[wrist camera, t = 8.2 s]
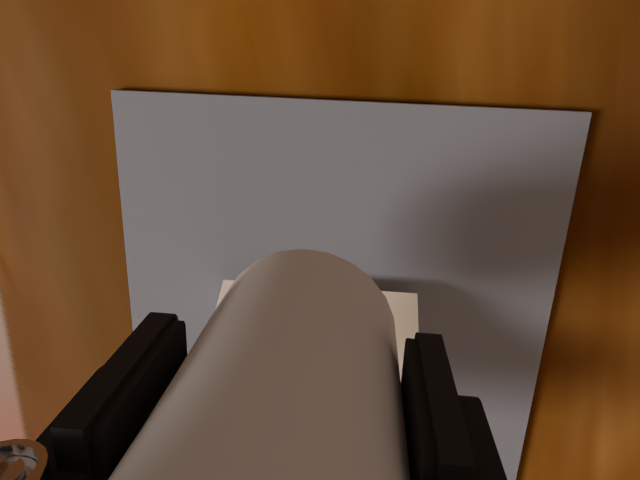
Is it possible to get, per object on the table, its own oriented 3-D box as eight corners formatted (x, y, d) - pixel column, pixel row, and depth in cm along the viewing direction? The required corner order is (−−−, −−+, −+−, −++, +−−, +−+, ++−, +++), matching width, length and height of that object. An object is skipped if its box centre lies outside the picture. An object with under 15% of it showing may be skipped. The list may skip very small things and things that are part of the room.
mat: (116, 89, 18) (110, 90, 18) (586, 111, 17) (591, 112, 17) (154, 524, 25) (150, 531, 24) (495, 560, 23) (497, 568, 23)
